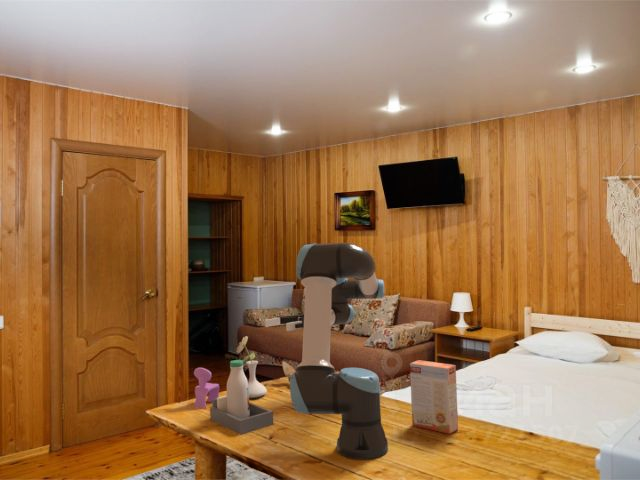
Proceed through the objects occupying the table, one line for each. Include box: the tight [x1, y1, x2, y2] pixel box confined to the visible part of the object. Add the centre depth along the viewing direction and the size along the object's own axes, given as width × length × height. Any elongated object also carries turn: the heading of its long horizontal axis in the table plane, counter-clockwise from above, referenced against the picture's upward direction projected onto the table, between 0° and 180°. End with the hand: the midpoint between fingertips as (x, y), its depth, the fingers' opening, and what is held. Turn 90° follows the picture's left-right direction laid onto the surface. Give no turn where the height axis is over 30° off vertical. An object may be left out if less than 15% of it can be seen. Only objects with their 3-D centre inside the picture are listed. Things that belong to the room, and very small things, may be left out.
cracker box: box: [409, 359, 459, 435], centre depth 174 cm, size 14×6×21 cm, turn 47°
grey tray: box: [209, 398, 274, 435], centre depth 186 cm, size 20×13×7 cm, turn 40°
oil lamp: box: [281, 360, 297, 383], centre depth 227 cm, size 9×21×10 cm, turn 53°
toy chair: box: [192, 367, 220, 410], centre depth 207 cm, size 8×9×15 cm
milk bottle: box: [226, 359, 250, 419], centre depth 187 cm, size 8×8×20 cm
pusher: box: [217, 394, 227, 413], centre depth 191 cm, size 2×10×7 cm, turn 130°
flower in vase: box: [235, 335, 268, 399], centre depth 216 cm, size 13×11×25 cm
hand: (275, 325), depth 194 cm, fingers open, 13 cm apart
